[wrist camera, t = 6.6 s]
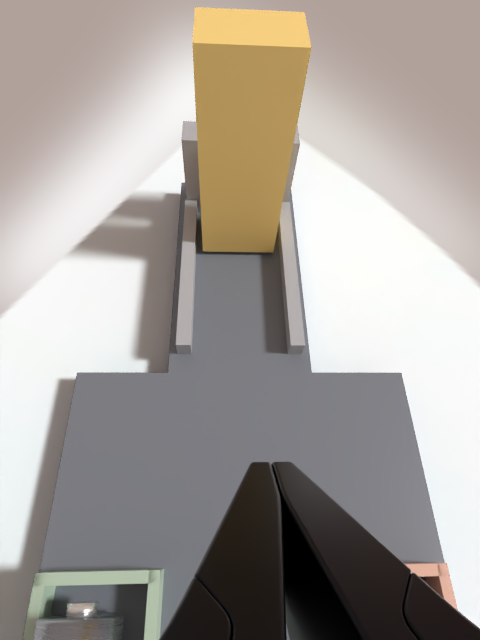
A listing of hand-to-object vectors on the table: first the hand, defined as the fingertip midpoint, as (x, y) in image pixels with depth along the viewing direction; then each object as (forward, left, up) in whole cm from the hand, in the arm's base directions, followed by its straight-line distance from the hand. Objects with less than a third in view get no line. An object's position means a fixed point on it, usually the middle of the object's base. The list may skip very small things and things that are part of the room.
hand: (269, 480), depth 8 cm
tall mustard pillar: (+10, +10, -9) cm, 18 cm away
